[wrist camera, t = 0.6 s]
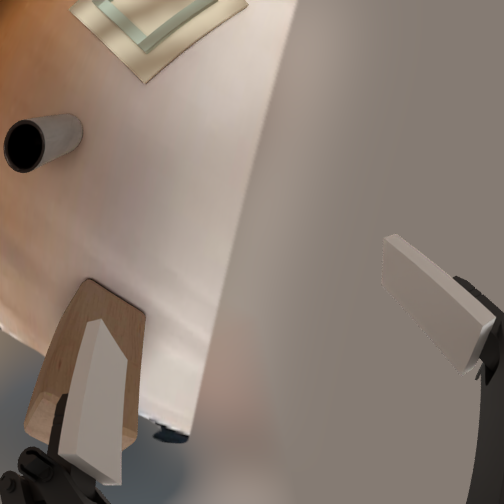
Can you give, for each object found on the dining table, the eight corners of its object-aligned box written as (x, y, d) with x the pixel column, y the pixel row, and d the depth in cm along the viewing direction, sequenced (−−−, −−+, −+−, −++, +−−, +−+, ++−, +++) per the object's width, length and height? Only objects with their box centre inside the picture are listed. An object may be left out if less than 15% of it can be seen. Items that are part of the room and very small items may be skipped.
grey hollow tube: (42, 127, 26) (-5, 140, 17) (73, 105, 26) (31, 108, 17) (58, 160, 29) (16, 183, 20) (89, 139, 29) (53, 154, 20)
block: (87, 273, 36) (39, 397, 18) (149, 312, 40) (141, 442, 23) (59, 319, 38) (20, 433, 20) (115, 352, 42) (101, 469, 25)
